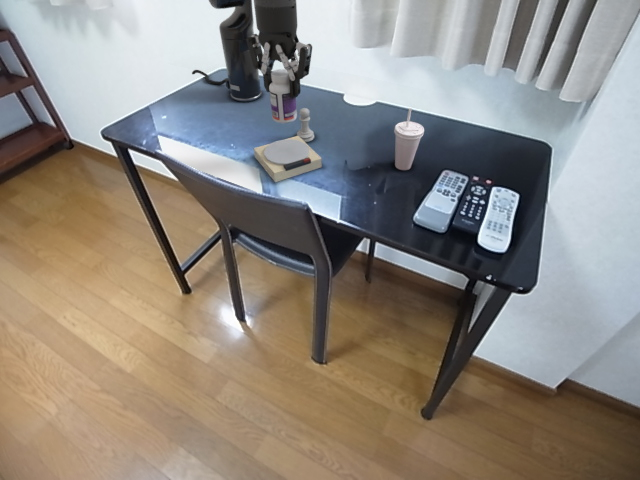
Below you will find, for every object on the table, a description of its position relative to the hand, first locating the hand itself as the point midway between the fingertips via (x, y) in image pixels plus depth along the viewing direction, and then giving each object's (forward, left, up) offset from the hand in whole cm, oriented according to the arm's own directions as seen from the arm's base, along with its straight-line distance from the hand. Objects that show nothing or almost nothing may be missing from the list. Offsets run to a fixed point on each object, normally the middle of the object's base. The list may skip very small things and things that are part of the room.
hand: (282, 93), depth 78 cm
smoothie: (+15, +23, -17) cm, 32 cm away
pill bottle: (0, 0, -6) cm, 6 cm away
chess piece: (-8, +9, -17) cm, 21 cm away
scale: (0, 0, -17) cm, 17 cm away
